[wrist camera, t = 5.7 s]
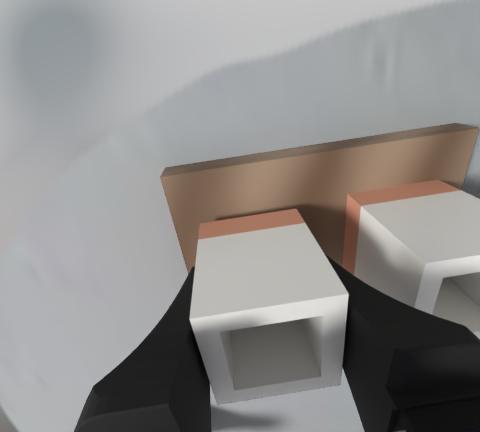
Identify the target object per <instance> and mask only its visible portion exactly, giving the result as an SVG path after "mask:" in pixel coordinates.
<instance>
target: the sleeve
mask: <svg viewBox="0 0 480 432" xmlns="http://www.w3.org/2000/svg"><path fill="white" fill-rule="evenodd" d="M348 296H349V293H348V292H347V290H346V289H345V287H344V285H343V284H342V282H341V280H340V279H339V277H338V275H337V274H336V272H335V271H334V269H333V267H332V266H331V264H330V262H329V261H328V259H327V257H326V256H325V254H324V253H323V251H322V249H321V248H320V246H319V244H318V243H317V241H316V240H315V238H314V236H313V235H312V233H311V231H310V230H309V228H308V226H307V225H306V223H305V222H304V220H303V218H302V217H301V215H300V213H299V212H298V210H297V208H296V209H290V210H283V211H277V212H270V213H264V214H258V215H251V216H245V217H238V218H232V219H226V220H219V221H213V222H206V223H200V226H199V235H198V244H197V254H196V263H195V272H194V281H193V291H192V300H191V309H190V318H189V319H190V323H191V326H192V329H193V332H194V335H195V338H196V341H197V344H198V347H199V350H200V353H201V356H202V360H203V363H204V366H205V369H206V372H207V375H208V378H209V381H210V384H211V387H212V390H213V393H214V397H215V400H216V403H217V405H220V404H226V403H232V402H239V401H245V400H251V399H257V398H263V397H269V396H276V395H282V394H288V393H294V392H300V391H306V390H312V389H319V388H325V387H331V386H337V385H341V375H342V364H343V352H344V341H345V330H346V319H347V307H348Z"/></svg>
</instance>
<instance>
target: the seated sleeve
mask: <svg viewBox="0 0 480 432" xmlns="http://www.w3.org/2000/svg"><path fill="white" fill-rule="evenodd" d="M342 266H343V268H344V269H346V270H347V271H348V272H350V273H351V274H352V275H354V276H355V277H357V278H359V279H360V280H362V281H363V282H365V283H366V284H368V285H370V286H371V287H373V288H375V289H377V290H379V291H380V292H382V293H384V294H386V295H388V296H390V297H392V298H394V299H396V300H398V301H400V302H402V303H405V304H407V305H409V306H411V307H414V308H416V309H419V310H421V311H424V312H426V313H429V314H431V315H434V316H437V317H440V318H443V319H446V320H449V321H452V322H455V323H458V324H461V325H464V326H466V327H467V328H468V329H469V330H470V331H472V332H473V333H474V334H475V335H476V336H477V337H478V338H479V339H480V199H479V198H477V197H474V196H472V195H470V194H468V193H466V192H464V191H462V190H459V189H457V188H455V187H453V186H451V185H449V184H446V183H444V182H442V181H440V180H433V181H427V182H420V183H414V184H407V185H401V186H395V187H388V188H382V189H375V190H369V191H363V192H356V193H350V194H347V207H346V222H345V236H344V251H343V265H342ZM445 277H450V278H449V279H447V280H446V281H444V282H442V280H443V278H445Z"/></svg>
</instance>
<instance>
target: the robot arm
mask: <svg viewBox="0 0 480 432" xmlns="http://www.w3.org/2000/svg"><path fill="white" fill-rule="evenodd" d="M323 253H324V252H323ZM324 254H325V253H324ZM325 256H326V257H327V259H328V261H329V262H330V264H331V266H332V267H333V269H334V271H335V272H336V274H337V275H338V277H339V279H340V280H341V282H342V284H343V285H344V287H345V289H346V290H347V292H348V293H349V296H348V307H347V319H346V330H345V341H344V352H343V364H342V367H343V369H344V372H345V375H346V378H347V381H348V383H349V386H350V389H351V392H352V395H353V398H354V401H355V404H356V407H357V410H358V413H359V416H360V419H361V422H362V425H363V428H364V431H365V432H480V339H479V338H478V337H477V336H476V335H475V334H474V333H473V332H472V331H470V330H469V329H468V328H467V327H466V326H464V325H461V324H458V323H455V322H452V321H449V320H446V319H443V318H440V317H437V316H434V315H431V314H429V313H426V312H424V311H421V310H419V309H416V308H414V307H411V306H409V305H407V304H405V303H402V302H400V301H398V300H396V299H394V298H392V297H390V296H388V295H386V294H384V293H382V292H380V291H379V290H377V289H375V288H373V287H371V286H370V285H368V284H366V283H365V282H363V281H362V280H360V279H359V278H357V277H355V276H354V275H352V274H351V273H350V272H348V271H347V270H346V269H344V268H343V267H341V266H340V265H339V264H338V263H336V262H335V261H334V260H332V259H331V258H330V257H329V256H327V255H326V254H325ZM194 272H195V266H193V267H192V268H191V270H190V272H189V274H188V276H187V278H186V280H185V282H184V284H183V286H182V288H181V289H180V291H179V293H178V295H177V296H176V298H175V300H174V301H173V303H172V304H171V306H170V307H169V309H168V310H167V312H166V313H165V315H164V316H163V317H162V319H161V320H160V321H159V323H158V324H157V325H156V326H155V328H154V329H153V330H152V331H151V332H150V334H149V335H148V336H147V337H146V338H145V339H144V340H143V342H142V343H141V344H140V345H139V346H138V347H137V348H136V349H135V350H134V351H133V352H132V353H131V354H130V355H129V356H128V357H127V358H126V359H125V360H124V361H123V362H121V363H120V364H119V365H118V366H117V367H116V368H115V369H114V370H112V371H111V372H110V373H109V374H108V375H106V376H105V377H104V378H103V379H102V380H100V381H99V382H98V383H97V384H95V385H94V386H93V388H92V390H91V392H90V394H89V396H88V398H87V400H86V403H85V405H84V407H83V410H82V413H81V415H80V418H79V420H78V423H77V425H76V428H75V430H74V432H211V410H210V381H209V378H208V375H207V372H206V369H205V366H204V363H203V360H202V356H201V353H200V350H199V347H198V344H197V341H196V338H195V335H194V332H193V329H192V326H191V323H190V319H189V318H190V309H191V300H192V291H193V281H194Z"/></svg>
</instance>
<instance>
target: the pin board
mask: <svg viewBox="0 0 480 432" xmlns="http://www.w3.org/2000/svg"><path fill="white" fill-rule="evenodd" d="M478 131H479V128H477V127H472V126H467V125H461V124H456V123H454V124H447V125H441V126H434V127H428V128H421V129H415V130H408V131H401V132H395V133H388V134H382V135H375V136H369V137H362V138H356V139H349V140H343V141H336V142H330V143H323V144H317V145H310V146H304V147H297V148H291V149H284V150H278V151H271V152H265V153H258V154H252V155H245V156H239V157H232V158H226V159H219V160H213V161H206V162H200V163H193V164H187V165H180V166H174V167H167V168H165V169H164V171H163V173H162V175H161V177H160V178H161V182H162V185H163V188H164V192H165V195H166V199H167V202H168V206H169V209H170V212H171V216H172V219H173V223H174V226H175V230H176V233H177V236H178V240H179V243H180V247H181V250H182V253H183V257H184V260H185V264H186V267H187V271H188V274H189V272H190V270H191V268H192V267H193V266H195V263H196V254H197V244H198V235H199V226H200V223H206V222H213V221H219V220H226V219H232V218H238V217H245V216H251V215H258V214H264V213H270V212H277V211H283V210H290V209H296V208H297V210H298V212H299V213H300V215H301V217H302V218H303V220H304V222H305V223H306V225H307V226H308V228H309V230H310V231H311V233H312V235H313V236H314V238H315V240H316V241H317V243H318V244H319V246H320V248H321V249H322V251H323V252H324V253H325V254H326V255H327V256H329V257H330V258H331V259H332V260H334V261H335V262H336V263H338V264H339V265H340V266H341V267H343V266H342V265H343V251H344V236H345V222H346V207H347V194H350V193H356V192H363V191H369V190H375V189H382V188H388V187H395V186H401V185H407V184H414V183H420V182H427V181H433V180H440V181H442V182H444V183H446V184H449V185H451V186H453V187H455V188H457V189H459V190H461V189H462V186H463V182H464V179H465V175H466V172H467V168H468V165H469V162H470V158H471V155H472V151H473V148H474V144H475V141H476V138H477V134H478ZM449 278H450V277H445V278H443V280H442V282H444V281H446V280H447V279H449Z"/></svg>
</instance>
